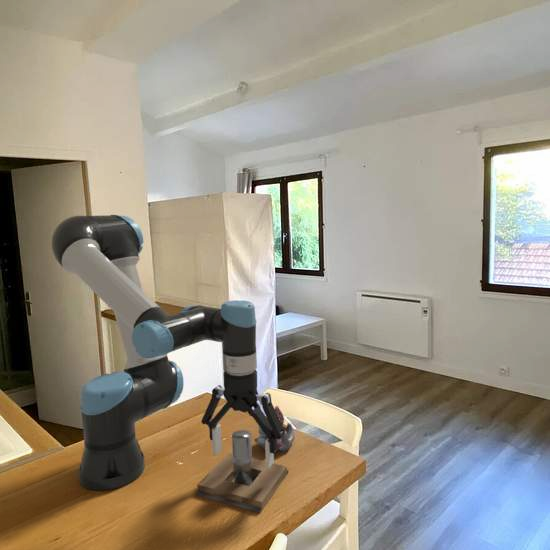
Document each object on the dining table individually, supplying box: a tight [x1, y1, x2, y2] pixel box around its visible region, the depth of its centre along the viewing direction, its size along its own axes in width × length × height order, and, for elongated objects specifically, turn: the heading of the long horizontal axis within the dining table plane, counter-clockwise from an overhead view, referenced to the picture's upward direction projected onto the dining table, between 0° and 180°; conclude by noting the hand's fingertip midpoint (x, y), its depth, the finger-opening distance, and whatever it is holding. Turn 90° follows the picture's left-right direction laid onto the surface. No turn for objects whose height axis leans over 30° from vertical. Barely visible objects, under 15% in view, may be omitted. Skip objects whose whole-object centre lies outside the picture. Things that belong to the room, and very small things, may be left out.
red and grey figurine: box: [253, 405, 295, 452], centre depth 117 cm, size 11×11×12 cm
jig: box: [195, 452, 289, 514], centre depth 100 cm, size 16×16×2 cm
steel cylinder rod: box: [231, 429, 254, 486], centre depth 100 cm, size 4×4×12 cm
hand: (243, 459), depth 100 cm, fingers open, 13 cm apart
